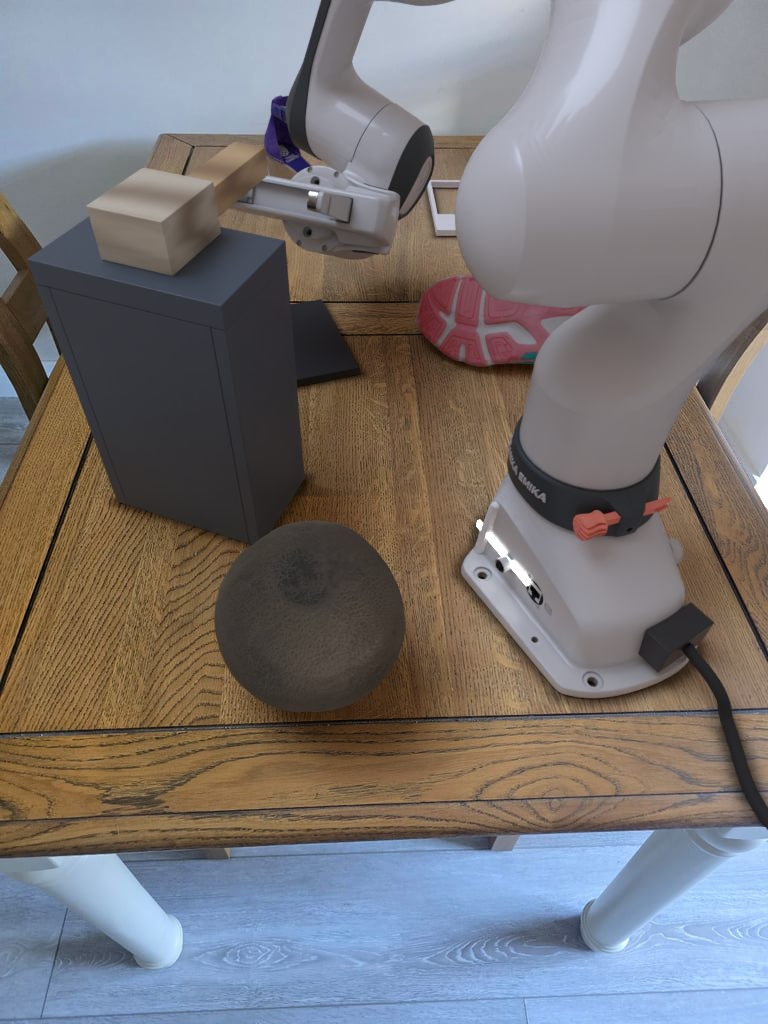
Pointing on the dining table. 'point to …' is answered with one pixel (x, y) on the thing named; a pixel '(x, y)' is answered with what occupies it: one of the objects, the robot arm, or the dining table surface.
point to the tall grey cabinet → (184, 376)
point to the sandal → (282, 144)
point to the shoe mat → (318, 345)
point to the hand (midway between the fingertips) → (268, 191)
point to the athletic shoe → (485, 323)
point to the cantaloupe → (309, 617)
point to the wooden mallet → (173, 209)
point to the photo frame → (442, 221)
